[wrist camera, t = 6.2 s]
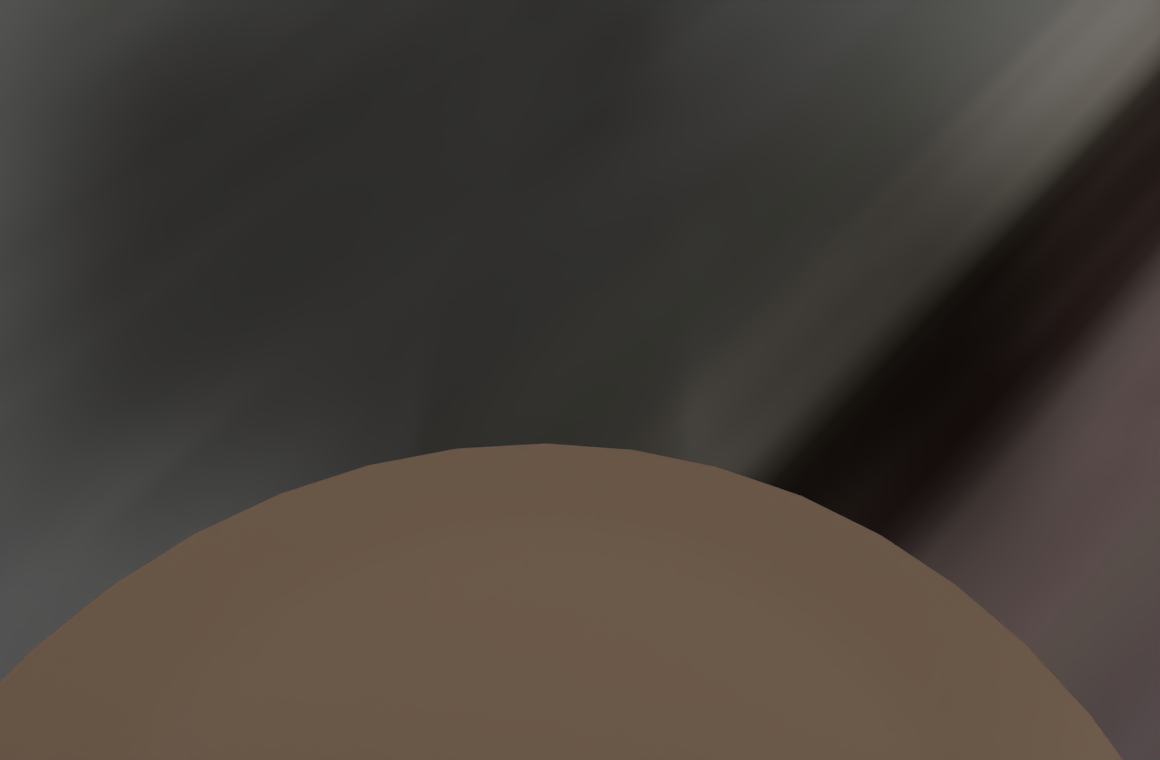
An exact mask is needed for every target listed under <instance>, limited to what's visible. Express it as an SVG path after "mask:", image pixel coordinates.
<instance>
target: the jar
mask: <svg viewBox="0 0 1160 760" xmlns="http://www.w3.org/2000/svg"><path fill="white" fill-rule="evenodd" d="M0 760H1122V758H1121V757H1120V756H1119V754H1118V753H1117V751H1116V750H1115V749H1114V747H1113V746H1112V744H1111V743H1110V742H1109V740H1108V739H1107V738H1106V736H1105V735H1104V733H1103V732H1102V731H1101V729H1100V728H1099V726H1098V725H1097V724H1096V722H1095V721H1094V720H1093V718H1092V717H1091V715H1090V714H1089V713H1088V712H1087V711H1086V710H1085V709H1084V708H1083V707H1082V706H1081V704H1080V703H1079V702H1078V701H1077V700H1076V699H1075V698H1074V697H1073V696H1072V695H1071V694H1070V692H1069V691H1068V690H1067V689H1066V688H1065V687H1064V686H1063V685H1062V684H1061V683H1060V682H1059V681H1058V679H1057V678H1056V677H1055V676H1054V675H1053V674H1052V673H1051V672H1050V671H1049V670H1048V669H1047V667H1046V666H1045V665H1044V664H1043V663H1042V662H1041V661H1040V660H1039V659H1038V658H1037V657H1036V655H1035V654H1034V653H1033V652H1032V651H1031V650H1030V649H1029V648H1028V647H1027V646H1026V645H1025V644H1024V643H1023V642H1022V641H1021V640H1019V639H1018V638H1017V637H1016V636H1015V635H1014V634H1012V633H1011V632H1010V631H1009V630H1008V629H1007V628H1005V627H1004V626H1003V625H1002V624H1001V623H1000V622H998V621H997V620H996V619H995V618H994V617H993V616H991V615H990V614H989V613H988V612H987V611H986V610H984V609H983V608H982V607H981V606H980V605H979V604H977V603H976V602H975V601H974V600H973V599H972V598H970V597H969V596H968V595H967V594H966V593H965V592H963V591H962V590H961V589H960V588H959V587H958V586H956V585H955V584H953V583H952V582H950V581H949V580H947V579H946V578H944V577H943V576H941V575H940V574H938V573H937V572H935V571H934V570H932V569H931V568H929V567H928V566H926V565H925V564H923V563H922V562H920V561H919V560H917V559H916V558H914V557H913V556H911V555H910V554H908V553H907V552H905V551H904V550H902V549H901V548H899V547H898V546H896V545H895V544H893V543H892V542H890V541H889V540H887V539H886V538H884V537H883V536H881V535H879V534H877V533H875V532H873V531H871V530H869V529H867V528H865V527H863V526H861V525H859V524H857V523H855V522H853V521H851V520H849V519H847V518H845V517H843V516H841V515H839V514H837V513H835V512H833V511H831V510H829V509H827V508H825V507H823V506H821V505H819V504H817V503H815V502H813V501H811V500H809V499H807V498H805V497H803V496H800V495H797V494H794V493H791V492H789V491H786V490H783V489H780V488H777V487H774V486H771V485H768V484H765V483H762V482H760V481H757V480H754V479H751V478H748V477H745V476H742V475H739V474H736V473H733V472H731V471H728V470H725V469H722V468H719V467H714V466H709V465H705V464H700V463H695V462H690V461H685V460H680V459H675V458H671V457H666V456H661V455H656V454H651V453H646V452H641V451H637V450H629V449H615V448H602V447H588V446H574V445H560V444H547V443H544V444H527V445H509V446H492V447H474V448H457V449H452V450H446V451H441V452H436V453H431V454H425V455H420V456H415V457H409V458H404V459H399V460H393V461H388V462H383V463H377V464H372V465H367V466H364V467H361V468H358V469H355V470H352V471H349V472H346V473H343V474H340V475H337V476H333V477H330V478H327V479H324V480H321V481H318V482H315V483H312V484H309V485H306V486H303V487H299V488H296V489H293V490H290V491H287V492H284V493H281V494H279V495H276V496H274V497H272V498H270V499H268V500H266V501H264V502H262V503H259V504H257V505H255V506H253V507H251V508H249V509H247V510H244V511H242V512H240V513H238V514H236V515H234V516H232V517H229V518H227V519H225V520H223V521H221V522H219V523H217V524H214V525H212V526H210V527H208V528H206V529H204V530H202V531H200V532H197V533H195V534H193V535H192V536H190V537H189V538H187V539H185V540H184V541H182V542H181V543H179V544H177V545H176V546H174V547H173V548H171V549H169V550H168V551H166V552H165V553H163V554H161V555H160V556H158V557H157V558H155V559H153V560H152V561H150V562H149V563H147V564H145V565H144V566H142V567H141V568H139V569H137V570H136V571H134V572H133V573H131V574H129V575H128V576H126V577H125V578H123V579H121V580H120V581H118V582H117V583H115V584H113V585H112V586H110V587H109V588H108V589H107V590H105V591H104V592H103V593H102V594H100V595H99V596H98V597H97V598H95V599H94V600H93V601H92V602H90V603H89V604H88V605H87V606H85V607H84V608H83V609H82V610H80V611H79V612H78V613H77V614H76V615H74V616H73V617H72V618H71V619H69V620H68V621H67V622H66V623H64V624H63V625H62V626H61V627H59V628H58V629H57V630H56V631H54V632H53V633H52V634H51V635H49V636H48V637H47V638H46V639H45V640H43V641H42V642H41V643H40V644H38V645H37V646H36V647H35V648H33V649H32V650H31V651H30V652H29V653H28V654H27V655H26V656H25V657H24V658H23V659H22V660H21V661H20V662H19V663H18V664H17V665H16V666H15V667H14V668H13V669H12V670H11V671H10V672H9V673H8V674H7V675H6V676H5V677H4V678H3V679H2V680H1V681H0Z"/></svg>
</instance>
